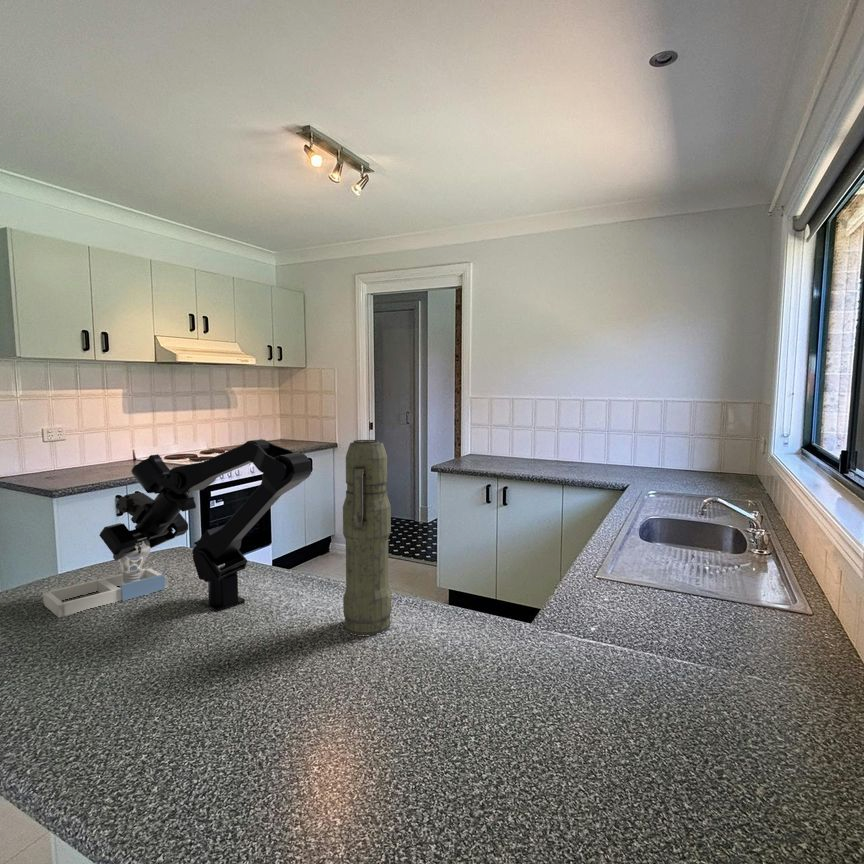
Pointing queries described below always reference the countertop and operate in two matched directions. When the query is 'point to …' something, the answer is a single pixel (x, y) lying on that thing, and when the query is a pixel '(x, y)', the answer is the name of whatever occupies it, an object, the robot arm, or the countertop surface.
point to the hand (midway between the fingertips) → (128, 554)
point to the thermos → (366, 539)
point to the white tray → (102, 592)
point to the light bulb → (135, 561)
